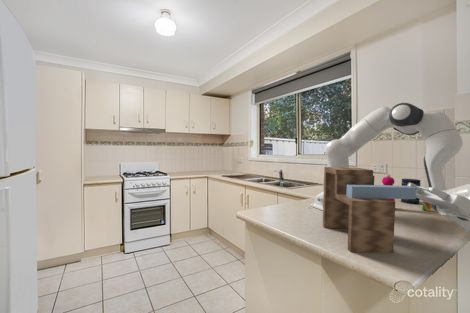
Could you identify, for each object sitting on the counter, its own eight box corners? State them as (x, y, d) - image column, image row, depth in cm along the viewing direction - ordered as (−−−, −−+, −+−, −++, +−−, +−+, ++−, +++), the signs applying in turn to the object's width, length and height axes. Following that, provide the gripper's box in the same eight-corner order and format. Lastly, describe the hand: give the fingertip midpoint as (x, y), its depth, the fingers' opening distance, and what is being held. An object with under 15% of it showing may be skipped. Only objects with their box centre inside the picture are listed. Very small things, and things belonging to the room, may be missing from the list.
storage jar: (405, 203, 146) (406, 180, 146) (397, 200, 156) (398, 178, 155) (423, 204, 144) (424, 181, 144) (413, 201, 154) (415, 178, 154)
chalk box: (422, 210, 131) (423, 184, 130) (422, 207, 138) (423, 182, 137) (444, 213, 125) (445, 186, 124) (443, 210, 132) (445, 184, 131)
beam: (407, 196, 84) (407, 185, 84) (415, 199, 80) (416, 187, 80) (346, 195, 84) (346, 184, 84) (351, 197, 80) (352, 186, 80)
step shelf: (354, 226, 101) (356, 167, 100) (393, 252, 76) (396, 174, 75) (322, 226, 101) (324, 167, 100) (350, 251, 76) (353, 173, 75)
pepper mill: (389, 210, 129) (391, 175, 128) (377, 207, 136) (378, 173, 135) (397, 209, 133) (398, 174, 132) (384, 206, 139) (385, 173, 138)
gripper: (432, 193, 92) (403, 175, 92) (488, 206, 72) (450, 183, 72) (424, 206, 92) (394, 189, 92) (477, 223, 72) (439, 200, 72)
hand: (419, 186), depth 82 cm, fingers open, 8 cm apart
